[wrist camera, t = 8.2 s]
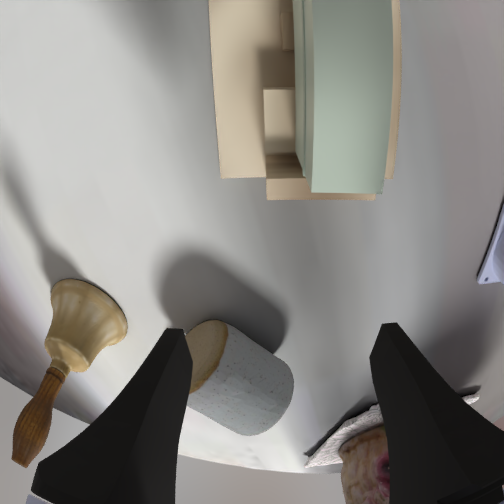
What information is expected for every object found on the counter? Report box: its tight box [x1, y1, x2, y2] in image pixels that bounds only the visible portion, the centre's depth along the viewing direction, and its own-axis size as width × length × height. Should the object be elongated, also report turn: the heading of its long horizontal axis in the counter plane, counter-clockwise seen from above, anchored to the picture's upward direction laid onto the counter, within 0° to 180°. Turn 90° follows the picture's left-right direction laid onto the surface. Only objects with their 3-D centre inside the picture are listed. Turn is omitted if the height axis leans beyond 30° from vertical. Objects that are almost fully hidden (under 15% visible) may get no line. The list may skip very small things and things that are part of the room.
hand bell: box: [12, 279, 128, 468], centre depth 18 cm, size 8×8×16 cm
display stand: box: [209, 0, 402, 200], centre depth 11 cm, size 10×16×4 cm, turn 3°
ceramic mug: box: [185, 320, 294, 436], centre depth 23 cm, size 11×8×8 cm
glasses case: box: [293, 0, 393, 194], centre depth 8 cm, size 2×12×5 cm, turn 2°
